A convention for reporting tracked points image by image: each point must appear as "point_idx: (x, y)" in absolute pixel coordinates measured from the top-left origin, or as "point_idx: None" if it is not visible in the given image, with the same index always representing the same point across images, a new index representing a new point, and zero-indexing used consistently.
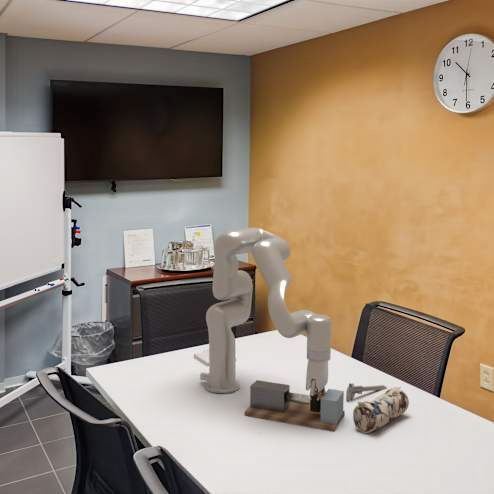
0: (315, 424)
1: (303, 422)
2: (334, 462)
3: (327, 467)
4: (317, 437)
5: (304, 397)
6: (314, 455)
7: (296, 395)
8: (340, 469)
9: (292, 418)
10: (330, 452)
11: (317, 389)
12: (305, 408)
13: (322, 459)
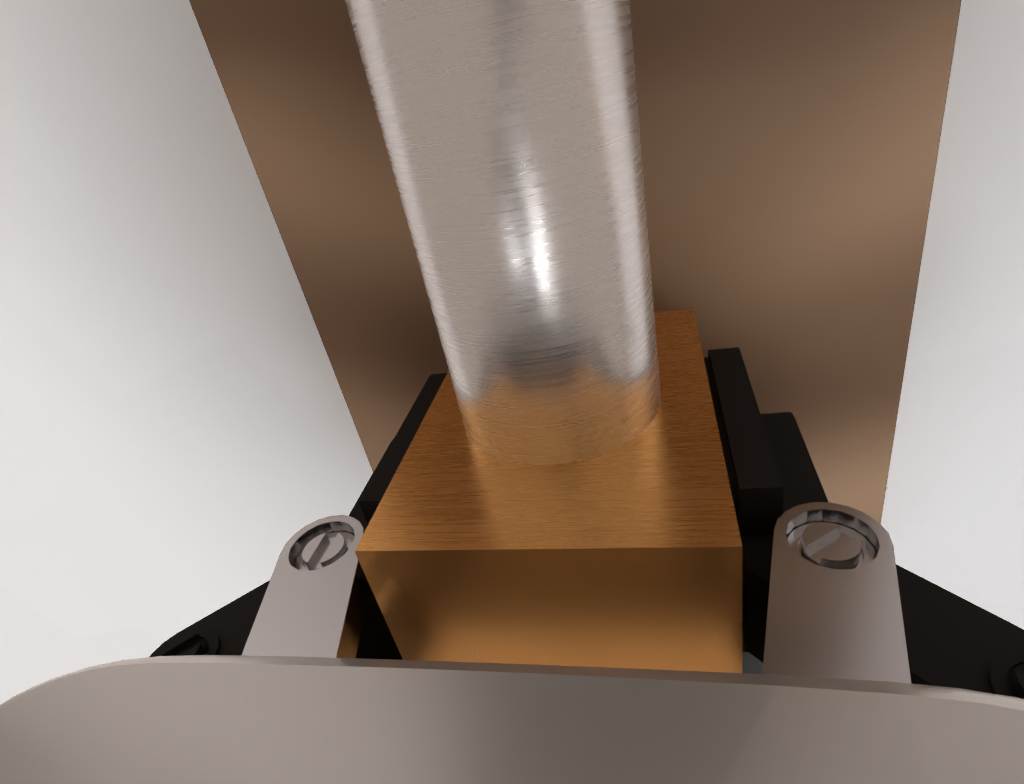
0: (363, 426)
1: (313, 292)
2: (77, 633)
3: (6, 616)
4: (240, 474)
5: (443, 317)
6: (25, 532)
7: (388, 67)
8: (55, 664)
9: (270, 116)
10: (142, 596)
11: (780, 619)
12: (745, 110)
13: (38, 579)
